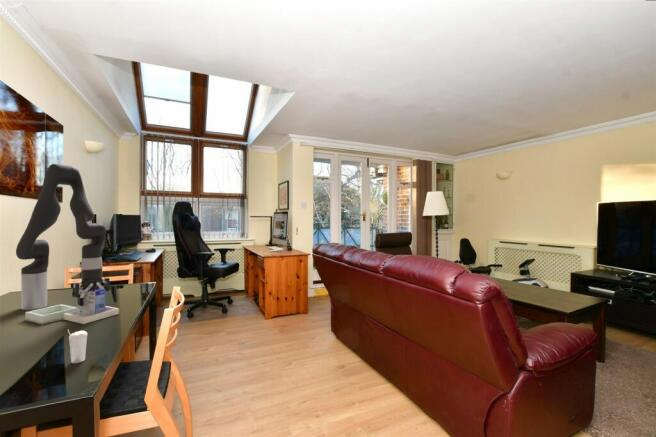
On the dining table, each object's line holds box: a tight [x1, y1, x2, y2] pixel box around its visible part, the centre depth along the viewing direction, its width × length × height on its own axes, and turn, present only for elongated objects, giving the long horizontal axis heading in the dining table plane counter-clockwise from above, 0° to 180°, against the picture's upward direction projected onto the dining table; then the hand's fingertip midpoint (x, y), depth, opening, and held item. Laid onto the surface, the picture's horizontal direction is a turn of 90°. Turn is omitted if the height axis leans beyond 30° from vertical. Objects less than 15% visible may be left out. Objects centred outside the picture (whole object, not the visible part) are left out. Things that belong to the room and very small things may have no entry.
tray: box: [24, 304, 78, 325], centre depth 135 cm, size 13×13×4 cm
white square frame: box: [62, 305, 120, 325], centre depth 137 cm, size 15×15×2 cm
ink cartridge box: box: [77, 286, 107, 317], centre depth 137 cm, size 10×6×14 cm, turn 78°
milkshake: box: [67, 328, 88, 364], centre depth 95 cm, size 4×5×10 cm
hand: (92, 303), depth 137 cm, fingers open, 8 cm apart
